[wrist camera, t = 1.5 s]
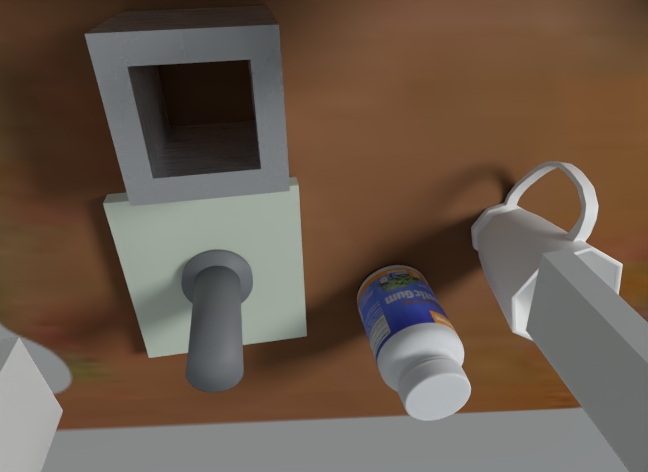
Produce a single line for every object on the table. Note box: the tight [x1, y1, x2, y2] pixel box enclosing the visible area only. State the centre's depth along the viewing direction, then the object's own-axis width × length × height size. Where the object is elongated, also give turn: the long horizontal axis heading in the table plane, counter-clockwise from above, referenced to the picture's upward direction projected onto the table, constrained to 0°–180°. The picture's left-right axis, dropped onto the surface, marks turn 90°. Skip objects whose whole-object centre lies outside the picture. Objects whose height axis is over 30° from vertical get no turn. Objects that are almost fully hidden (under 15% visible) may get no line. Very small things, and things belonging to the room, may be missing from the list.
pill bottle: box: [357, 265, 471, 421], centre depth 31 cm, size 5×5×10 cm
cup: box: [471, 161, 623, 341], centre depth 30 cm, size 7×10×8 cm
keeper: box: [103, 177, 307, 392], centre depth 28 cm, size 12×11×9 cm
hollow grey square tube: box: [85, 5, 290, 206], centre depth 22 cm, size 7×7×7 cm
